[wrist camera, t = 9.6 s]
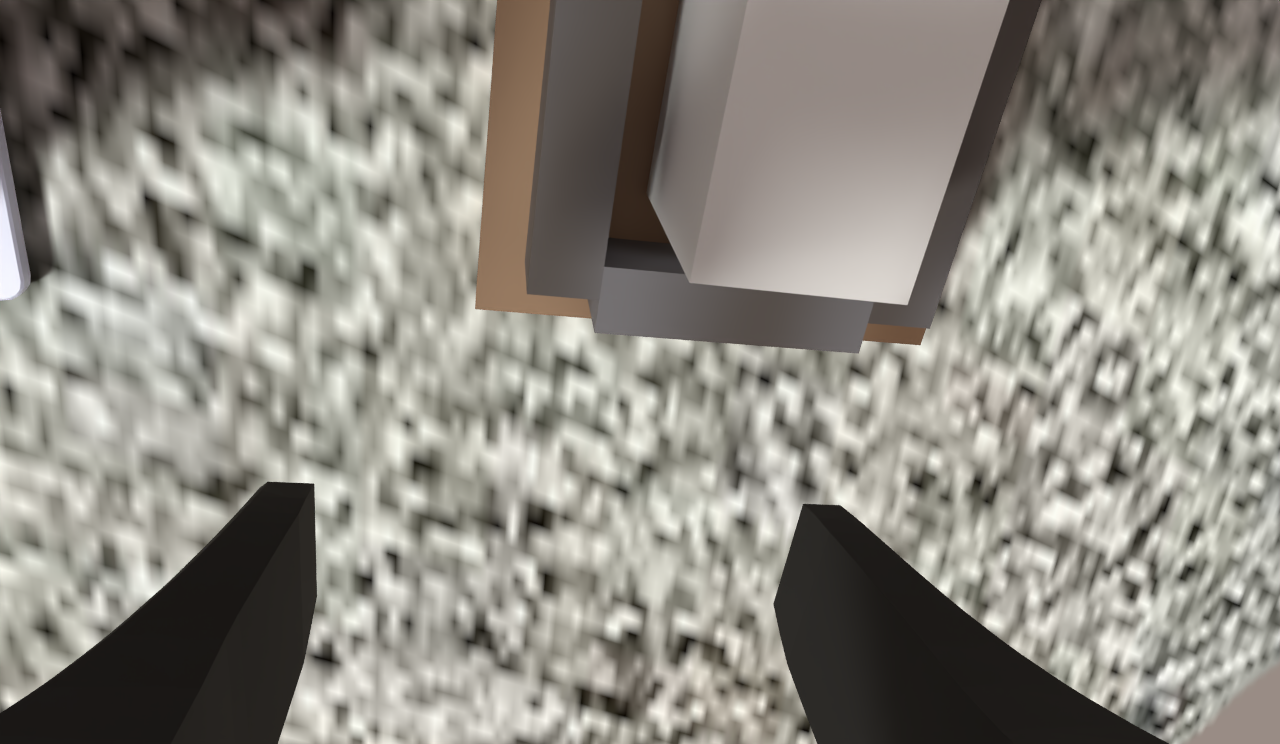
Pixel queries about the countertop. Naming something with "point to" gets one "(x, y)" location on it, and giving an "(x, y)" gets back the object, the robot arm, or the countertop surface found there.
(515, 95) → the cradle jig
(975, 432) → the countertop surface
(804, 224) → the white pillar grey cap
